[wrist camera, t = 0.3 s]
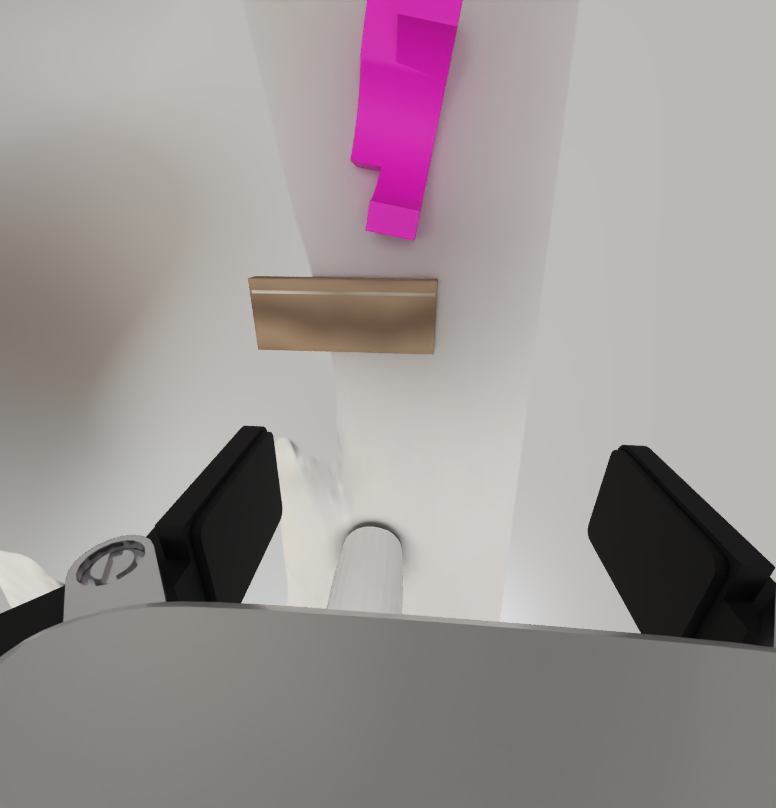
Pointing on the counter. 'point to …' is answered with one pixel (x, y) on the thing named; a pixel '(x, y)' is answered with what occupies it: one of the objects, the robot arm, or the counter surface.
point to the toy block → (401, 103)
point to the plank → (344, 314)
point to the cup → (369, 573)
